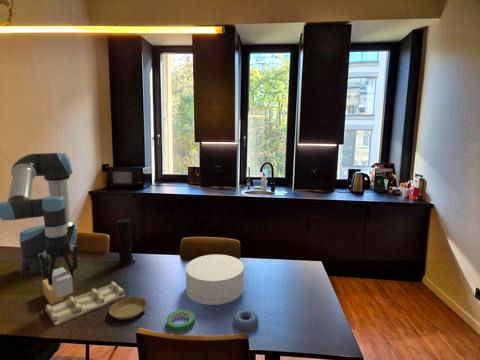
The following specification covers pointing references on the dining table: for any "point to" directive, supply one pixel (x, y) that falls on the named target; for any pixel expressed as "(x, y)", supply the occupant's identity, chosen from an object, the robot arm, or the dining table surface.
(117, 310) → the plant saucer
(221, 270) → the plate stack
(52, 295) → the tan rectangular block
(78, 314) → the rack
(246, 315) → the doughnut
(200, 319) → the dining table surface
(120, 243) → the handle grip
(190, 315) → the tape roll
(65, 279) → the grey bar
